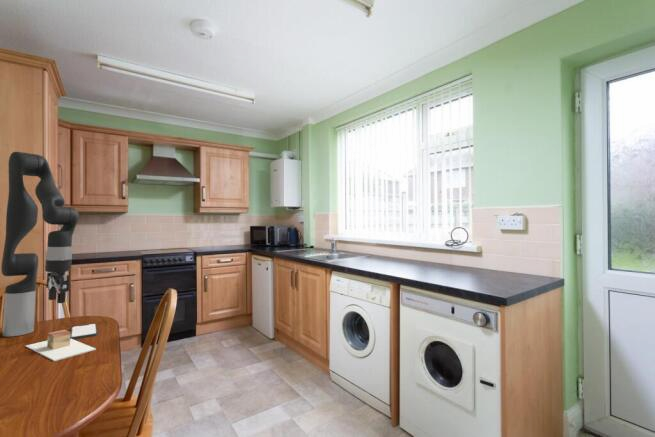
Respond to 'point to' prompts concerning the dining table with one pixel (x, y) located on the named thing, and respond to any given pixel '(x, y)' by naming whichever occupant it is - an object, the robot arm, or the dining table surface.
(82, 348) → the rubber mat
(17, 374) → the dining table surface
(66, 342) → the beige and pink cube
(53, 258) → the robot arm
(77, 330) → the phone case
